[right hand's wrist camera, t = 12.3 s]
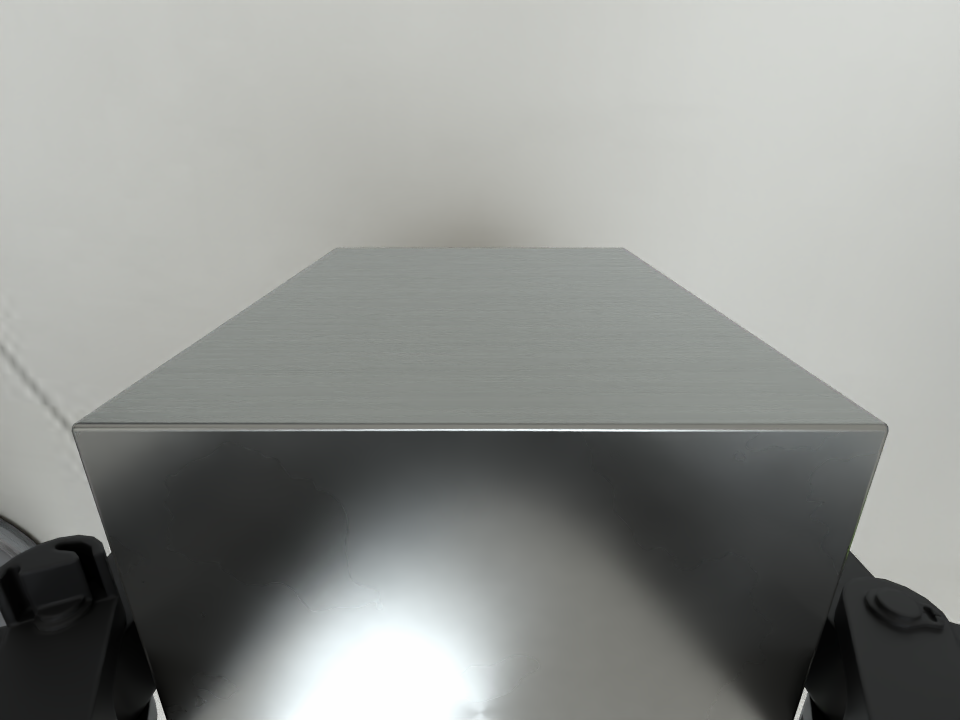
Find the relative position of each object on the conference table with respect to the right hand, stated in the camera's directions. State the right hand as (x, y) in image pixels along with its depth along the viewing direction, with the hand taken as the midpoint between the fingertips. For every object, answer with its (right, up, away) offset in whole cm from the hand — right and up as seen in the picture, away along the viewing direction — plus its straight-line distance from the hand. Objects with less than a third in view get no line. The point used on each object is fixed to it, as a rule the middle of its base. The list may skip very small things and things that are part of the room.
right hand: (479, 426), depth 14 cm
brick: (0, +1, +3) cm, 3 cm away
